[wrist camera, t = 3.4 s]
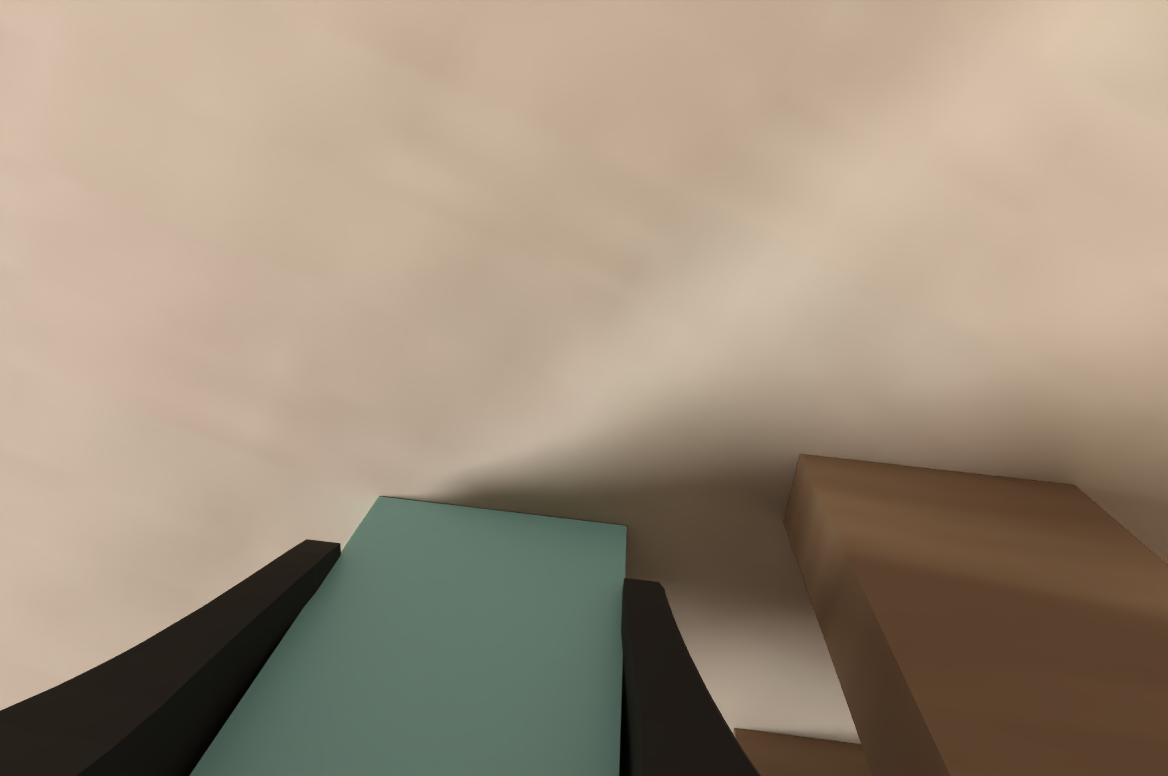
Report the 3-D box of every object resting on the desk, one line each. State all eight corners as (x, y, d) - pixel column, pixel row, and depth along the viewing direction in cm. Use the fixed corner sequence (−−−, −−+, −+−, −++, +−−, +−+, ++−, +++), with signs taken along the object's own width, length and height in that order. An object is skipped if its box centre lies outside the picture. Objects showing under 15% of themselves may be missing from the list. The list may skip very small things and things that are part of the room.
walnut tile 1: (1046, 552, 13) (1451, 991, 6) (783, 522, 13) (922, 919, 7) (1074, 484, 12) (1550, 892, 6) (799, 454, 13) (969, 816, 6)
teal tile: (618, 586, 14) (600, 995, 8) (381, 557, 14) (164, 931, 8) (626, 525, 13) (615, 909, 7) (379, 495, 14) (142, 844, 7)
